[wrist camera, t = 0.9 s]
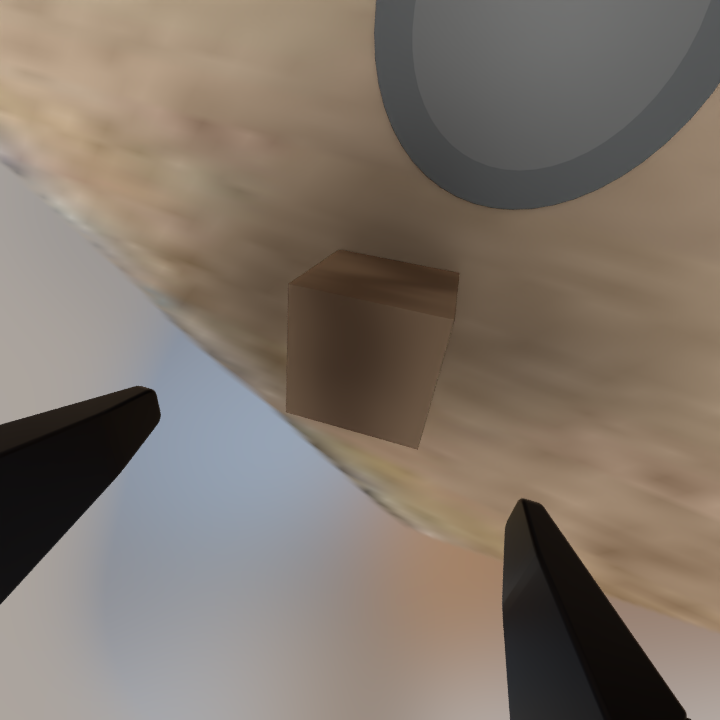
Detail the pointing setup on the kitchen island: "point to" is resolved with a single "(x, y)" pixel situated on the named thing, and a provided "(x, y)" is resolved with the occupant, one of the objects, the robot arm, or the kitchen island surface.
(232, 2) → the kitchen island surface
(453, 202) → the kitchen island surface
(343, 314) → the walnut block
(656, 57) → the slate coaster
